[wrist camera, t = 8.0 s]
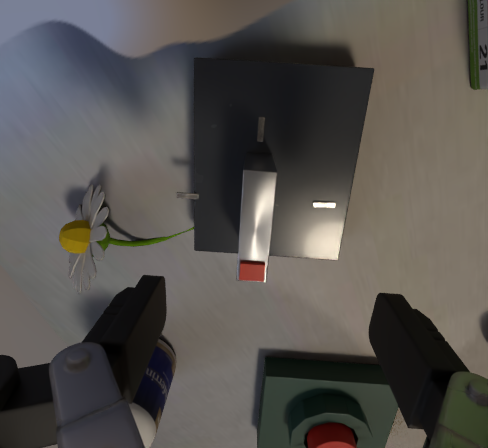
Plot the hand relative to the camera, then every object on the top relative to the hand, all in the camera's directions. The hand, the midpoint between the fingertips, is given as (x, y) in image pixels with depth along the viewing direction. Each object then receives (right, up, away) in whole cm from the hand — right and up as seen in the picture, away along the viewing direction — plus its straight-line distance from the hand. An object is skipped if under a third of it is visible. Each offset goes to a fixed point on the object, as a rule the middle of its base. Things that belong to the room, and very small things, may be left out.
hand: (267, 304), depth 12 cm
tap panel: (+1, +7, +10) cm, 13 cm away
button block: (+7, -14, +19) cm, 25 cm away
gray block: (0, +5, +8) cm, 10 cm away
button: (+7, -16, +16) cm, 23 cm away
